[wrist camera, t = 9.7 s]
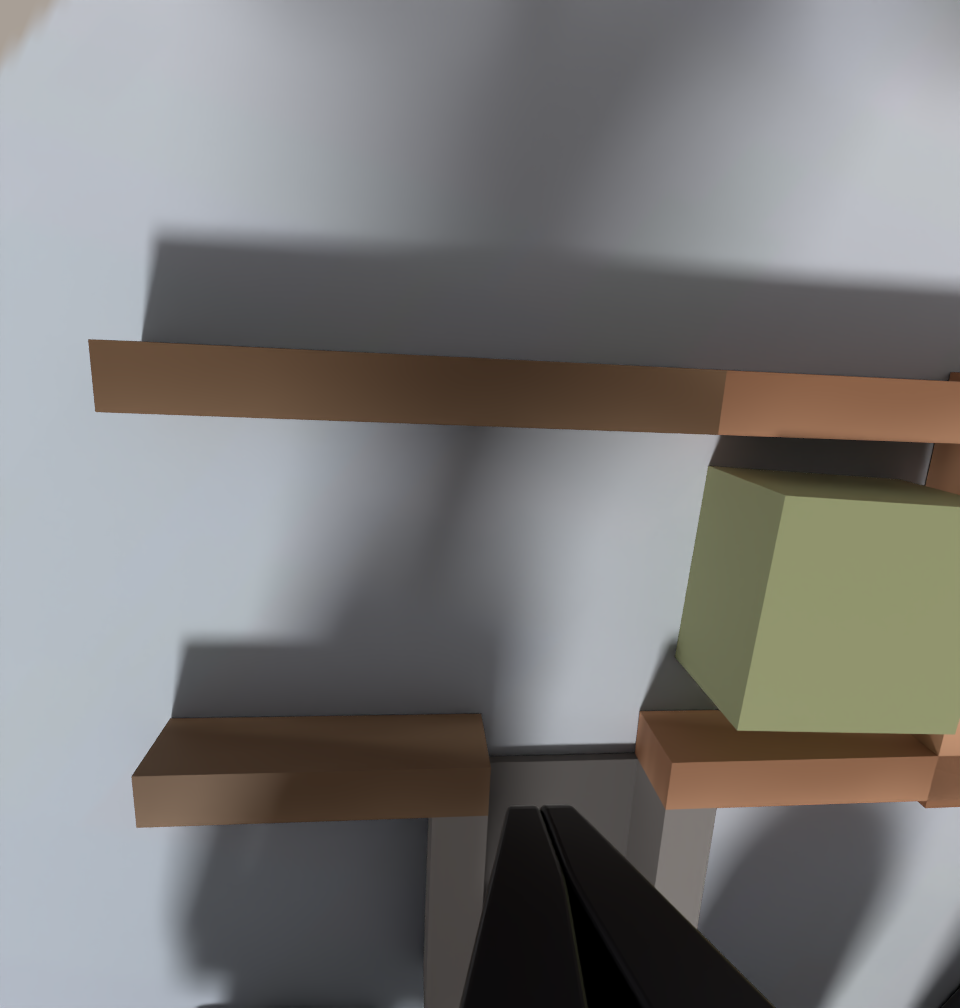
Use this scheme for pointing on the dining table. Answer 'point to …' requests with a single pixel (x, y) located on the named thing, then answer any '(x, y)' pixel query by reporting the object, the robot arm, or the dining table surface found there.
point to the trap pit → (539, 781)
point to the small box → (953, 1001)
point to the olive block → (825, 603)
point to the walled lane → (460, 737)
